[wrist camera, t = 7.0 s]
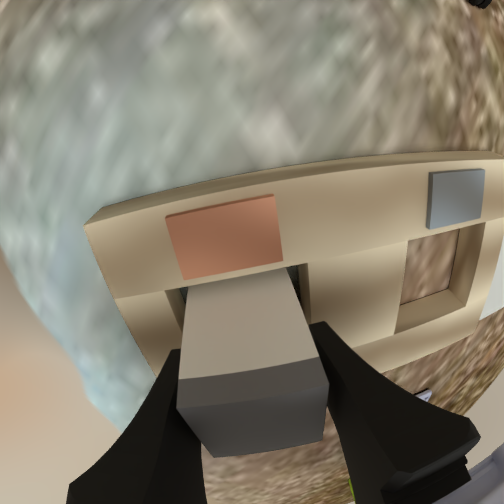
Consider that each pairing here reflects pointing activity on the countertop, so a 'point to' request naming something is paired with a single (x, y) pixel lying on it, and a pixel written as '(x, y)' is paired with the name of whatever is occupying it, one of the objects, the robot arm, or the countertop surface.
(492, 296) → the mat
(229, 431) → the peg
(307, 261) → the socket plate
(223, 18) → the countertop surface
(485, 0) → the electric trimmer
